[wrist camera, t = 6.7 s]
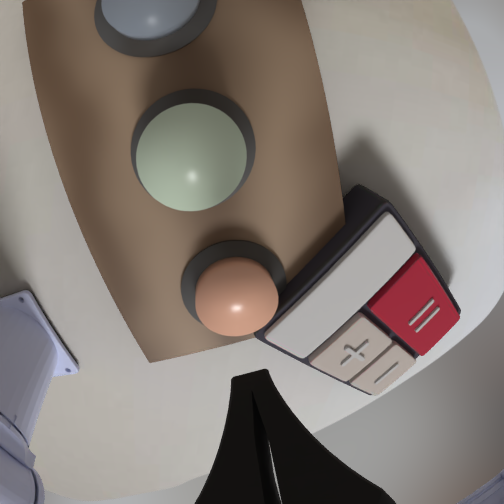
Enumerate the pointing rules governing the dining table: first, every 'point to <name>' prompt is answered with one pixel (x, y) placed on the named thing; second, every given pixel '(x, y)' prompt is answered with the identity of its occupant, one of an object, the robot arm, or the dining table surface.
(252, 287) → the terracotta button
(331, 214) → the button panel
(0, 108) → the dining table surface
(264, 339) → the calculator
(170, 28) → the slate button
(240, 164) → the sage button
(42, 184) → the dining table surface
